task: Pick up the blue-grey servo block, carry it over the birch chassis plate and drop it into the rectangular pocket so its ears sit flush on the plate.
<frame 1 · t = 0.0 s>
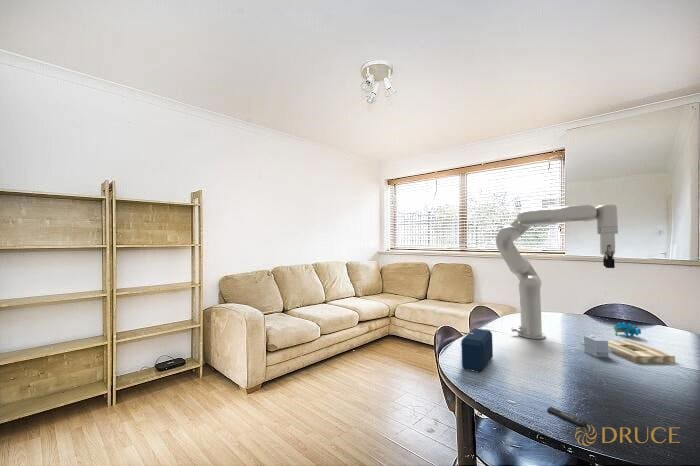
hand: (608, 267, 145), 37 cm above the table, tool pointing down, fingers open, 9 cm apart
chassis: (633, 353, 135), on the table
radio: (477, 364, 127), on the table
servo: (596, 354, 136), on the table
blue toy dinosaur: (627, 336, 160), on the table
dark grey bar: (566, 420, 88), on the table
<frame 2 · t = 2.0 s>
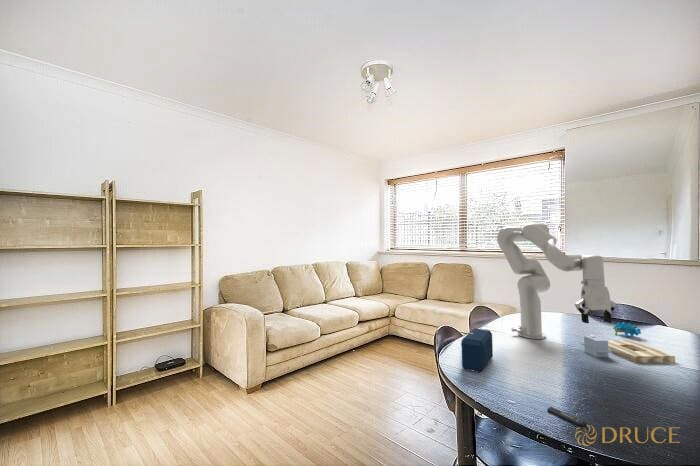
hand: (596, 322, 136), 14 cm above the table, tool pointing down, fingers open, 9 cm apart
nothing on the table moved.
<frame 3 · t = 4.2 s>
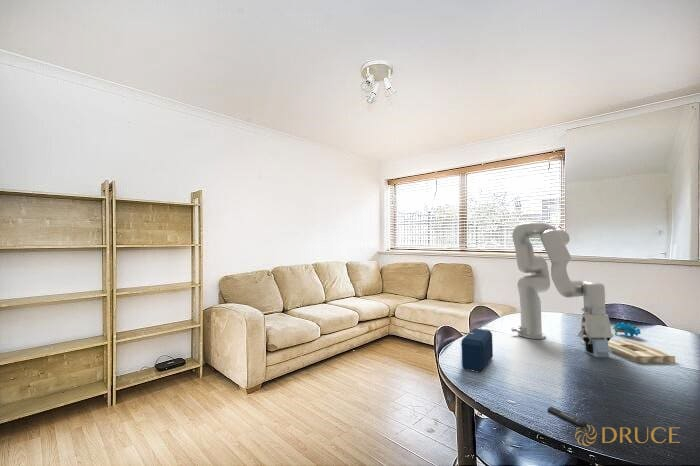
hand: (596, 351, 136), 1 cm above the table, tool pointing down, fingers closed on servo, 5 cm apart
servo: (596, 354, 136), on the table, touching gripper
everything else where it was.
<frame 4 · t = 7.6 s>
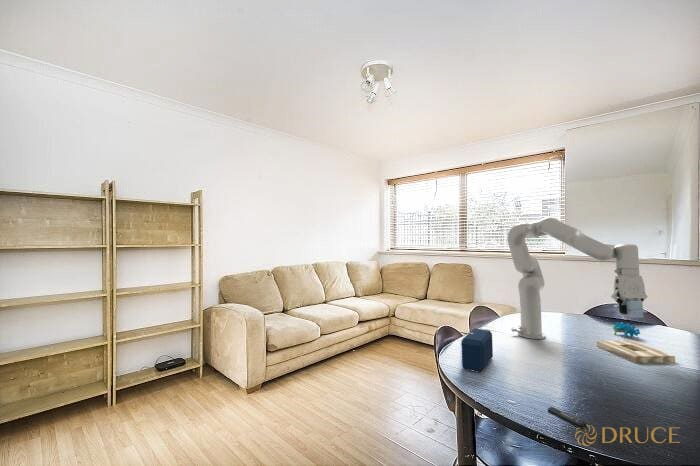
hand: (630, 313, 136), 18 cm above the table, tool pointing down, fingers closed on servo, 5 cm apart
servo: (630, 315, 136), point 17 cm above the table, touching gripper
everything else where it was.
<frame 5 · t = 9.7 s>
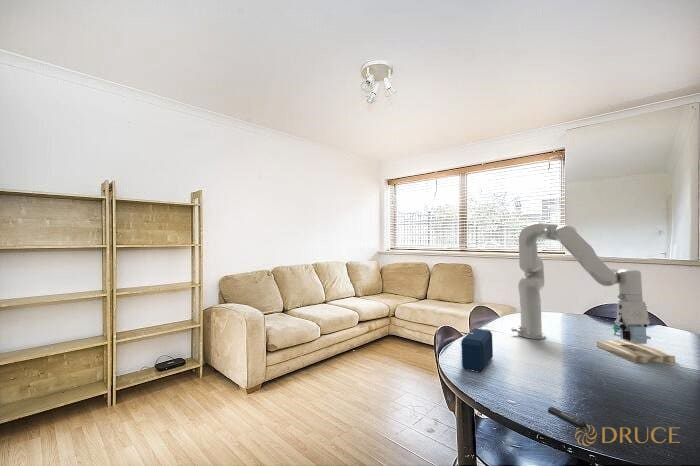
hand: (633, 338, 135), 6 cm above the table, tool pointing down, fingers closed on servo, 5 cm apart
servo: (633, 341, 135), point 5 cm above the table, touching gripper
everything else where it was.
when the fingers open (3 cm above the table, at t = 11.2 s): servo drops 2 cm, resting on chassis.
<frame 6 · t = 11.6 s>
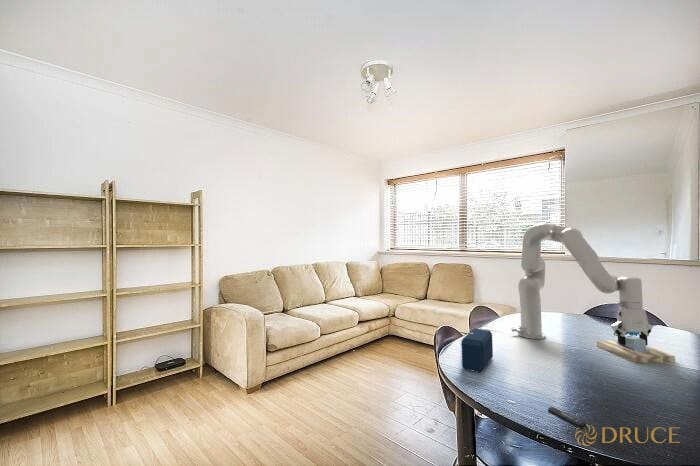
hand: (632, 344, 136), 4 cm above the table, tool pointing down, fingers open, 9 cm apart
servo: (633, 353, 135), resting on chassis
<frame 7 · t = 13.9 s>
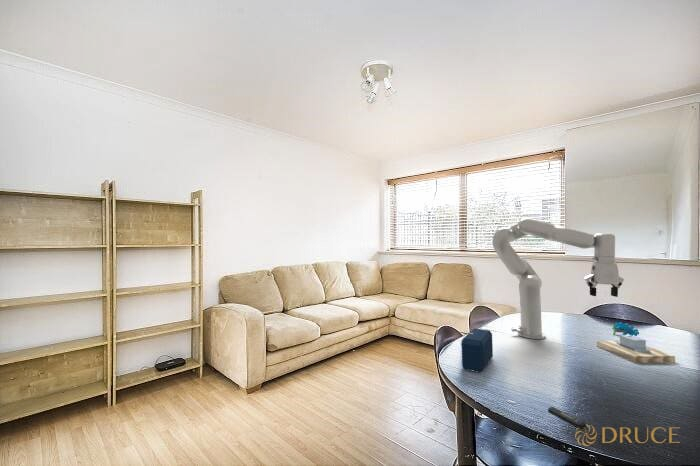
hand: (603, 295, 146), 24 cm above the table, tool pointing down, fingers open, 9 cm apart
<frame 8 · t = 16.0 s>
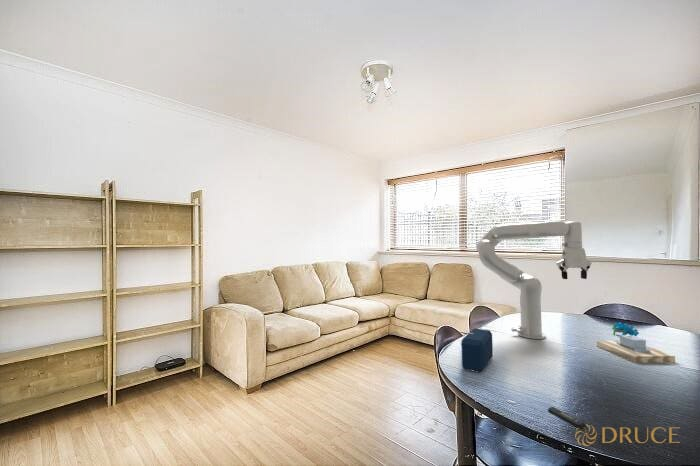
hand: (574, 278, 158), 30 cm above the table, tool pointing down, fingers open, 9 cm apart
at the end: servo 0.0 cm off-centre on the chassis, point 0.0 cm above the chassis's base; servo tilted 0°; the gripper is holding nothing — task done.
